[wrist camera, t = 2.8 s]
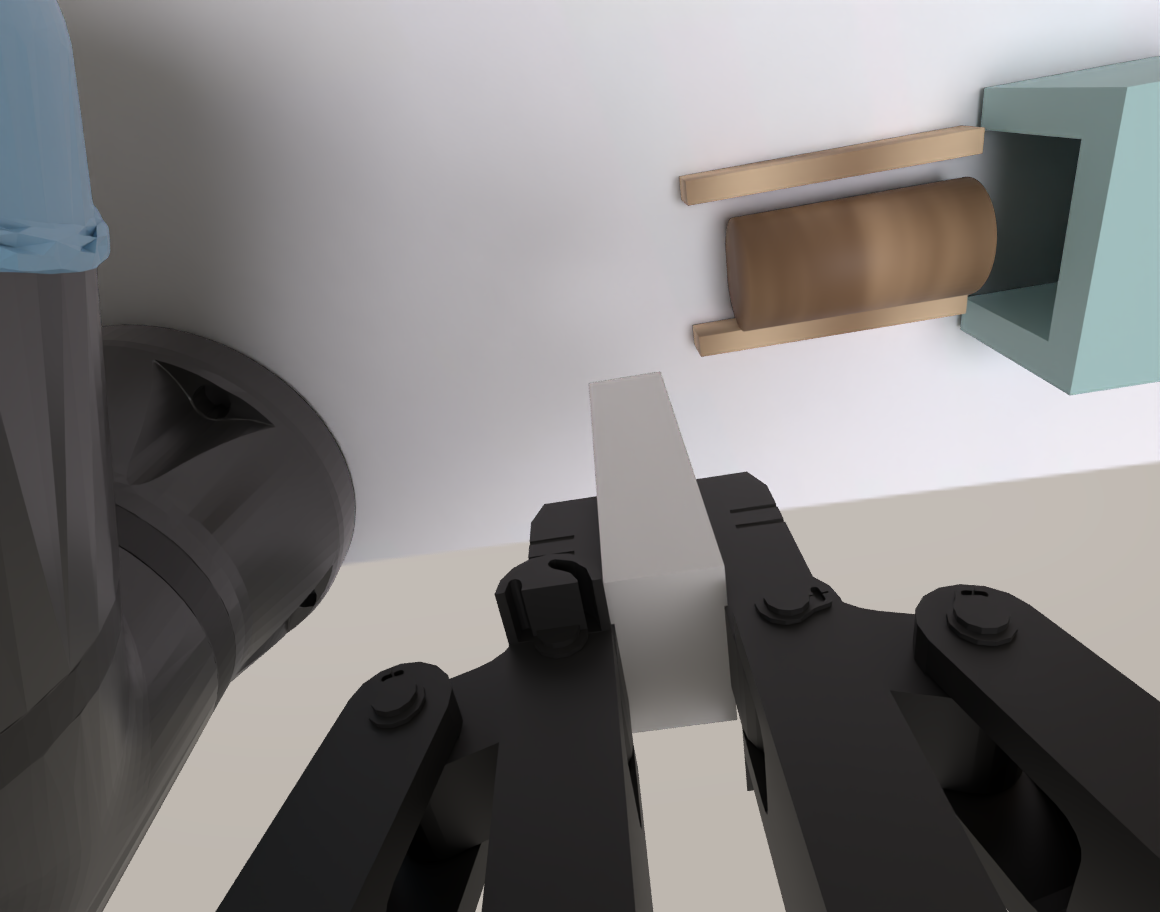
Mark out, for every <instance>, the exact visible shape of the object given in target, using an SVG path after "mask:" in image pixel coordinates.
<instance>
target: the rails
mask: <svg viewBox="0 0 1160 912" xmlns="http://www.w3.org/2000/svg"><path fill="white" fill-rule="evenodd" d="M984 133H985V128H984V127H973V126H957V127H951V128H945V129H940V130H934V131H929V132H923V133H918V134H912V135H907V136H901V137H895V138H890V139H884V140H879V141H873V142H868V143H862V144H857V145H851V146H845V147H840V148H834V149H829V150H823V151H818V152H812V153H807V154H801V155H795V156H790V157H784V158H779V159H773V160H768V161H762V162H757V163H751V164H745V165H740V166H734V167H729V168H723V169H718V170H712V171H707V172H701V173H695V174H690V175H684V176H679V180H680V191H681V200H682V201H683V202H684V203H685V204H687V205H688V206H689V205H694V204H700V203H706V202H711V201H717V200H723V199H728V198H734V197H740V196H745V195H751V194H757V193H762V192H768V191H773V190H779V189H785V188H790V187H796V186H802V185H807V184H813V183H819V182H824V181H830V180H836V179H841V178H847V177H852V176H858V175H864V174H869V173H875V172H881V171H886V170H892V169H898V168H903V167H909V166H914V165H920V164H926V163H931V162H937V161H943V160H948V159H954V158H960V157H965V156H971V155H977V154H982V152H983V142H984ZM967 298H968V295H963V296H957V297H951V298H945V299H939V300H933V301H927V302H921V303H915V304H909V305H902V306H896V307H890V308H884V309H878V310H872V311H866V312H860V313H854V314H848V315H842V316H836V317H830V318H824V319H818V320H811V321H805V322H799V323H793V324H787V325H781V326H775V327H769V328H763V329H757V330H751V331H745V332H744V331H742V330H741V329H740V327H739V326H738V324H737V321H736V318H733V319H727V320H721V321H715V322H709V323H703V324H697V325H693V333H694V344H695V346H696V348H697V350H698V352H699V354H700V356H701V357H703V356H709V355H715V354H722V353H728V352H734V351H740V350H746V349H752V348H758V347H764V346H770V345H776V344H783V343H789V342H795V341H801V340H807V339H813V338H819V337H825V336H831V335H838V334H844V333H850V332H856V331H862V330H868V329H874V328H880V327H886V326H892V325H899V324H905V323H911V322H917V321H923V320H929V319H935V318H941V317H947V316H953V315H960V314H966V308H967Z"/></svg>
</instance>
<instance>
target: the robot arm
mask: <svg viewBox="0 0 1160 912" xmlns="http://www.w3.org/2000/svg"><path fill="white" fill-rule="evenodd" d="M109 254H110V235H109V227H108V226H107V224H106V223H105V222H104V221H103V219H102V217H101V215H100V213H99V211H98V209H97V208H96V207H95V206H94V204H93V201H92V194H91V186H90V178H89V171H88V163H87V156H86V148H85V141H84V133H83V126H82V118H81V110H80V103H79V95H78V88H77V80H76V73H75V65H74V58H73V50H72V44H71V40H70V36H69V33H68V29H67V25H66V22H65V19H64V17H63V14H62V12H61V9H60V7H59V4H58V2H57V0H0V912H102V911H103V910H104V908H105V906H106V904H107V903H108V901H109V899H110V897H111V895H112V894H113V892H114V890H115V888H116V886H117V885H118V883H119V881H120V879H121V877H122V876H123V874H124V872H125V870H126V868H127V867H128V865H129V863H130V861H131V859H132V857H133V856H134V854H135V852H136V850H137V849H138V847H139V845H140V843H141V841H142V839H143V838H144V836H145V834H146V832H147V831H148V829H149V827H150V825H151V823H152V821H153V820H154V818H155V816H156V815H157V813H158V811H159V809H160V807H161V805H162V803H163V802H164V800H165V798H166V797H167V795H168V793H169V791H170V789H171V787H172V785H173V784H174V782H175V780H176V779H177V777H178V775H179V773H180V771H181V770H182V768H183V766H184V764H185V762H186V761H187V759H188V757H189V755H190V753H191V752H192V750H193V748H194V746H195V744H196V742H197V741H198V739H199V737H200V735H201V733H202V732H203V730H204V728H205V726H206V725H207V723H208V721H209V719H210V717H211V715H212V713H213V712H214V710H215V708H216V706H217V704H218V702H219V701H220V699H221V697H222V696H223V694H224V692H225V690H226V689H227V687H228V685H229V683H230V682H231V681H233V680H234V679H235V678H236V677H237V676H238V675H240V674H241V673H242V672H243V671H244V670H245V669H247V668H248V667H249V666H250V665H251V664H253V663H254V662H255V661H256V660H257V659H258V658H259V657H261V656H262V655H263V654H264V653H265V652H267V651H268V650H269V649H270V648H271V647H273V645H275V644H276V643H277V642H278V641H279V640H280V639H281V638H282V637H284V636H285V634H286V633H288V632H289V631H290V630H292V629H293V628H295V627H296V626H297V625H298V624H299V623H300V622H302V621H303V620H304V619H305V618H306V617H307V616H308V615H309V614H310V613H311V612H312V611H313V610H314V609H315V608H316V607H317V606H318V604H319V603H320V602H321V600H322V599H323V598H324V596H325V595H326V593H327V592H328V591H329V589H330V587H331V585H332V583H333V582H334V579H335V577H336V575H337V573H338V571H339V569H340V567H341V565H342V563H343V561H344V558H345V556H346V554H347V552H348V549H349V546H350V543H351V540H352V536H353V531H354V524H355V498H354V491H353V486H352V482H351V477H350V474H349V471H348V468H347V465H346V463H345V460H344V458H343V456H342V453H341V451H340V449H339V447H338V445H337V444H336V442H335V440H334V438H333V437H332V435H331V433H330V432H329V430H328V429H327V428H326V426H325V425H324V423H323V422H322V420H321V419H320V418H319V417H318V415H317V414H316V413H315V412H314V411H313V409H312V408H311V407H310V406H309V405H308V404H307V403H306V402H305V401H304V400H303V399H302V398H301V397H300V396H299V395H298V394H297V393H296V392H295V391H294V390H293V389H292V388H291V387H289V386H288V385H287V384H286V383H285V382H283V381H282V380H281V379H280V378H278V377H277V376H276V375H274V374H273V373H272V372H270V371H269V370H267V369H266V368H264V367H263V366H261V365H260V364H258V363H257V362H255V361H253V360H251V359H250V358H248V357H246V356H244V355H243V354H241V353H239V352H237V351H235V350H233V349H231V348H229V347H226V346H224V345H221V344H219V343H217V342H214V341H212V340H209V339H206V338H203V337H200V336H197V335H193V334H190V333H186V332H182V331H178V330H173V329H168V328H162V327H155V326H144V325H115V326H105V327H101V316H100V303H99V290H98V277H97V267H98V266H99V265H100V264H101V263H102V262H103V261H104V260H105V259H107V258H108V257H109ZM589 392H590V406H591V420H592V434H593V448H594V462H595V476H596V490H597V496H596V497H589V498H583V499H576V500H569V501H563V502H556V503H550V504H544V505H543V507H542V508H541V510H540V511H539V512H538V514H537V515H536V517H535V518H534V519H533V521H532V522H531V532H530V546H529V556H528V558H529V560H528V561H526V562H524V563H522V564H520V565H518V566H517V567H514V568H513V569H512V570H511V571H510V572H509V573H508V574H507V575H506V576H505V577H504V578H503V579H502V580H500V583H499V585H498V587H497V590H496V593H495V597H496V601H497V604H498V608H499V611H500V615H501V618H502V622H503V625H504V628H505V632H506V636H507V639H508V642H509V647H508V648H507V650H506V651H505V652H504V653H502V654H501V655H499V656H498V657H496V658H495V659H494V660H492V661H491V662H489V663H487V664H484V665H482V666H480V667H478V668H476V669H474V670H471V671H469V672H466V673H463V674H461V675H458V676H456V677H453V678H451V679H449V677H448V675H447V674H446V673H444V672H443V671H442V670H441V669H440V668H439V667H438V666H436V665H432V664H427V663H423V662H415V663H404V664H399V665H397V666H394V667H391V668H389V669H386V670H384V671H381V672H380V673H378V674H377V675H375V676H374V677H372V678H371V679H370V680H368V681H367V682H365V683H364V684H362V686H361V687H360V688H359V689H358V690H357V691H356V693H355V694H354V695H353V696H352V697H351V698H350V700H349V701H348V703H347V704H346V706H345V707H344V709H343V711H342V712H341V714H340V715H339V717H338V718H337V720H336V722H335V723H334V725H333V726H332V728H331V730H330V731H329V733H328V734H327V736H326V737H325V739H324V741H323V742H322V744H321V746H320V747H319V748H318V750H317V752H316V753H315V755H314V756H313V758H312V760H311V761H310V763H309V764H308V766H307V767H306V769H305V771H304V772H303V774H302V776H301V777H300V779H299V780H298V782H297V784H296V785H295V787H294V788H293V790H292V791H291V793H290V794H289V796H288V798H287V799H286V801H285V802H284V804H283V806H282V807H281V809H280V810H279V812H278V814H277V815H276V817H275V818H274V820H273V821H272V823H271V825H270V826H269V828H268V829H267V831H266V832H265V834H264V836H263V837H262V839H261V841H260V842H259V844H258V845H257V847H256V848H255V850H254V852H253V853H252V855H251V856H250V858H249V859H248V861H247V863H246V864H245V866H244V867H243V869H242V870H241V872H240V874H239V875H238V877H237V879H236V880H235V882H234V883H233V885H232V886H231V888H230V890H229V891H228V893H227V894H226V896H225V898H224V899H223V901H222V902H221V904H220V905H219V907H218V909H217V910H216V912H475V910H476V907H477V904H478V901H479V898H480V895H481V892H482V889H483V886H484V894H483V904H482V912H653V906H652V896H651V887H650V877H649V869H648V859H647V849H646V840H645V831H644V821H643V812H642V803H641V793H640V784H639V774H638V766H637V761H636V756H635V750H634V745H633V738H632V733H637V732H645V731H653V730H661V729H668V728H676V727H684V726H691V725H700V724H708V723H715V722H723V721H731V720H737V712H736V705H737V709H738V712H739V716H740V720H741V723H742V728H743V741H744V754H745V766H746V777H747V778H746V779H747V791H751V790H754V792H755V796H756V799H757V803H758V807H759V811H760V815H761V818H762V822H763V826H764V830H765V833H766V837H767V841H768V845H769V849H770V853H771V856H772V860H773V864H774V868H775V872H776V875H777V879H778V883H779V887H780V890H781V894H782V898H783V902H784V905H785V910H786V912H1008V911H1009V912H1160V702H1159V701H1158V700H1157V699H1156V698H1154V697H1153V696H1151V695H1150V694H1149V693H1147V692H1146V691H1145V690H1143V689H1142V688H1141V687H1139V686H1138V685H1137V684H1135V683H1134V682H1133V681H1131V680H1130V679H1129V678H1127V677H1126V676H1125V675H1123V674H1122V673H1121V672H1119V671H1118V670H1116V669H1115V668H1114V667H1113V666H1111V665H1110V664H1109V663H1107V662H1106V661H1105V660H1103V659H1102V658H1100V657H1099V656H1098V655H1096V654H1095V653H1094V652H1092V651H1091V650H1090V649H1088V648H1087V647H1086V646H1084V645H1083V644H1082V643H1080V642H1079V641H1077V640H1076V639H1075V638H1074V637H1072V636H1071V635H1070V634H1068V633H1067V632H1066V631H1064V630H1063V629H1062V628H1060V627H1059V626H1058V625H1056V624H1055V623H1053V622H1052V621H1051V620H1049V619H1048V618H1047V617H1045V616H1044V615H1043V614H1041V613H1040V612H1039V611H1037V610H1036V609H1034V608H1033V607H1032V606H1030V605H1029V604H1027V603H1025V602H1024V601H1022V600H1020V599H1018V598H1016V597H1015V596H1013V595H1011V594H1009V593H1006V592H1003V591H999V590H996V589H993V588H989V587H986V586H976V585H962V584H959V585H953V586H947V587H941V588H938V589H936V590H934V591H932V592H930V593H928V594H927V595H925V596H923V598H922V600H921V601H920V603H919V604H918V606H917V607H916V610H915V614H906V613H895V612H884V611H876V610H870V609H864V608H859V607H856V606H853V605H850V604H847V603H844V602H842V600H841V598H840V597H839V596H838V595H837V594H836V592H835V591H834V590H833V589H832V588H831V587H830V586H829V585H827V584H826V583H824V582H822V581H820V580H818V579H816V578H814V577H813V576H812V574H811V572H810V570H809V568H808V566H807V564H806V562H805V560H804V558H803V556H802V554H801V552H800V550H799V549H798V547H797V544H796V542H795V541H794V538H793V536H792V534H791V533H790V531H789V529H788V527H787V525H786V523H785V522H784V520H783V517H782V515H781V513H780V511H779V509H778V507H776V503H775V501H774V499H773V497H772V495H771V493H770V491H769V489H768V487H767V485H766V484H764V483H763V482H761V481H760V480H758V479H757V478H755V477H754V476H752V475H751V474H749V473H748V472H741V473H735V474H728V475H722V476H715V477H708V478H702V479H696V478H695V475H694V472H693V469H692V466H691V463H690V460H689V457H688V454H687V451H686V448H685V445H684V442H683V439H682V436H681V433H680V430H679V427H678V424H677V421H676V418H675V414H674V411H673V408H672V405H671V402H670V399H669V396H668V393H667V390H666V387H665V384H664V381H663V378H662V375H661V372H654V373H648V374H642V375H636V376H629V377H623V378H617V379H611V380H605V381H598V382H592V383H589ZM484 883H485V884H484ZM1005 907H1006V908H1005ZM1007 910H1008V911H1007Z"/></svg>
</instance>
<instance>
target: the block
mask: <svg viewBox="0 0 1160 912" xmlns="http://www.w3.org/2000/svg"><path fill="white" fill-rule="evenodd" d="M981 127H984V128H985V130H990V131H1001V132H1011V133H1022V134H1032V135H1043V136H1053V137H1064V138H1074V139H1082V140H1081V146H1080V152H1079V158H1078V164H1077V170H1076V176H1075V182H1074V188H1073V194H1072V201H1071V207H1070V213H1069V219H1068V225H1067V231H1066V237H1065V243H1064V249H1063V255H1062V261H1061V268H1060V274H1059V280H1058V282H1054V283H1048V284H1042V285H1036V286H1030V287H1024V288H1018V289H1012V290H1006V291H1000V292H994V293H988V294H982V295H976V296H970V297H968V298H967V308H966V314H962V318H961V328H960V329H961V330H962V331H964V332H966V333H967V334H969V335H971V336H972V337H974V338H976V339H977V340H979V341H981V342H982V343H984V344H985V345H987V346H989V347H990V348H992V349H994V350H995V351H997V352H999V353H1000V354H1002V355H1004V356H1005V357H1007V358H1009V359H1010V360H1012V361H1014V362H1015V363H1017V364H1019V365H1020V366H1022V367H1024V368H1025V369H1027V370H1029V371H1030V372H1032V373H1034V374H1035V375H1037V376H1038V377H1040V378H1042V379H1043V380H1045V381H1047V382H1048V383H1050V384H1052V385H1053V386H1055V387H1057V388H1058V389H1060V390H1062V391H1063V392H1065V393H1067V394H1068V395H1076V394H1082V393H1088V392H1095V391H1101V390H1108V389H1114V388H1121V387H1127V386H1134V385H1140V384H1146V383H1153V382H1159V381H1160V56H1156V57H1151V58H1145V59H1140V60H1134V61H1129V62H1123V63H1118V64H1112V65H1107V66H1101V67H1096V68H1090V69H1085V70H1079V71H1074V72H1069V73H1063V74H1058V75H1052V76H1047V77H1041V78H1036V79H1030V80H1025V81H1019V82H1014V83H1008V84H1003V85H997V86H992V87H986V88H984V98H983V108H982V118H981Z"/></svg>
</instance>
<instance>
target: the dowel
mask: <svg viewBox="0 0 1160 912" xmlns="http://www.w3.org/2000/svg"><path fill="white" fill-rule="evenodd" d="M996 245H997V225H996V217H995V212H994V208H993V205H992V202H991V199H990V197H989V194H988V193H987V191H986V189H985V188H984V186H983V185H982V184H981V183H980V182H979V181H978V180H976V179H974V178H972V177H962V178H956V179H951V180H945V181H939V182H933V183H928V184H922V185H916V186H911V187H905V188H899V189H893V190H888V191H882V192H876V193H871V194H865V195H859V196H853V197H848V198H842V199H836V200H831V201H825V202H819V203H813V204H808V205H802V206H796V207H791V208H785V209H779V210H773V211H768V212H762V213H756V214H751V215H745V216H739V217H733V218H731V219H730V220H729V222H728V225H727V230H726V243H725V247H726V263H727V278H728V287H729V293H730V299H731V304H732V308H733V312H734V315H735V318H736V321H737V324H738V326H739V327H740V329H741V330H742V331H744V332H745V331H751V330H757V329H763V328H769V327H775V326H781V325H787V324H793V323H799V322H805V321H811V320H818V319H824V318H830V317H836V316H842V315H848V314H854V313H860V312H866V311H872V310H878V309H884V308H890V307H896V306H902V305H909V304H915V303H921V302H927V301H933V300H939V299H945V298H951V297H957V296H963V295H969V294H973V293H975V292H977V291H978V290H979V289H980V288H981V287H982V286H983V285H984V283H985V282H986V280H987V278H988V277H989V274H990V272H991V269H992V266H993V263H994V259H995V253H996Z"/></svg>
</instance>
